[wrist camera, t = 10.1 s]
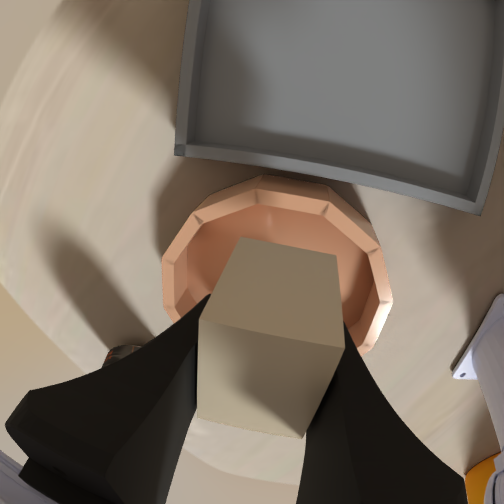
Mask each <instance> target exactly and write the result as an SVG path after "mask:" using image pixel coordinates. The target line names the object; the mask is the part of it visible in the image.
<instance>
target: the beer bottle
mask: <svg viewBox="0 0 504 504" xmlns="http://www.w3.org/2000/svg"><path fill="white" fill-rule="evenodd" d="M501 453H502V452H500V453H498V454H495V455H493V456H491V457H489V458H487V459H485V460H484V461H482V462H480V463H479V464H477V465H476V466H474V467H473V468H472V469H471V470H470V471H469V472H468V473H467V475H466V478H465V486H466V492H467V496H468V503H469V504H484V496H485V491H486V486H487V483H488V480H489V478H490V477H491V475H492V474H493V473H494V472H495V471H496V468H495V464H494V459H495V458H496V457H497V456H498V455H500V454H501Z"/></svg>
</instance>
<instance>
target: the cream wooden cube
mask: <svg viewBox="0 0 504 504" xmlns="http://www.w3.org/2000/svg"><path fill="white" fill-rule="evenodd" d="M344 349H345V340H344V327H343V315H342V304H341V293H340V284H339V274H338V266H337V257H336V255H333V254H328V253H322V252H317V251H312V250H307V249H302V248H297V247H292V246H287V245H282V244H277V243H271V242H266V241H261V240H256V239H251V238H245V237H240V239H239V241H238V242H237V244H236V246H235V248H234V250H233V252H232V254H231V256H230V258H229V260H228V262H227V264H226V266H225V268H224V270H223V272H222V274H221V276H220V278H219V280H218V282H217V284H216V286H215V288H214V290H213V292H212V294H211V296H210V298H209V300H208V302H207V304H206V306H205V308H204V310H203V312H202V314H201V316H200V318H199V334H198V373H197V418H201V419H204V420H208V421H212V422H216V423H220V424H224V425H229V426H233V427H238V428H242V429H247V430H252V431H257V432H262V433H267V434H273V435H279V436H285V437H291V438H298V439H302V438H303V436H304V434H305V432H306V431H307V429H308V427H309V425H310V423H311V421H312V419H313V417H314V415H315V413H316V411H317V409H318V407H319V405H320V402H321V400H322V398H323V396H324V394H325V392H326V390H327V388H328V386H329V383H330V381H331V379H332V377H333V375H334V372H335V370H336V368H337V366H338V363H339V361H340V359H341V356H342V354H343V352H344Z"/></svg>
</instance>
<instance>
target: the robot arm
mask: <svg viewBox="0 0 504 504" xmlns="http://www.w3.org/2000/svg"><path fill="white" fill-rule="evenodd" d="M210 296H211V294H208V295H206V296H205V297H204V298H203V299H202V300H201V301H200V302H199V303H198V304H196V305H195V306H194V307H193V308H192V309H191V310H190V311H189V312H187V313H186V314H185V315H184V316H183V317H181V318H180V319H179V320H178V321H177V322H175V323H174V324H173V325H172V326H170V327H169V328H168V329H166V330H165V331H164V332H162V333H161V334H160V335H158V336H157V337H155V338H154V339H153V340H151V341H150V342H148V343H147V344H145V345H144V346H142V347H140V348H139V349H137V350H136V351H134V352H132V353H130V354H129V355H127V356H125V357H123V358H121V359H119V360H118V361H116V362H114V363H112V364H110V365H107V366H105V367H103V368H101V369H99V370H97V371H94V372H92V373H89V374H86V375H84V376H81V377H78V378H75V379H72V380H69V381H67V382H63V383H59V384H55V385H51V386H47V387H44V388H39V389H35V390H30V391H29V392H28V393H27V394H26V395H25V396H24V398H23V399H22V400H21V402H20V403H19V404H18V406H17V407H16V408H15V410H14V411H13V413H12V414H11V416H10V417H9V418H8V420H7V421H6V423H5V427H6V430H7V432H8V433H9V435H10V436H11V437H12V439H13V440H14V441H15V442H16V443H17V445H18V446H19V447H20V448H21V449H22V450H23V451H24V453H25V454H26V455H27V456H28V457H29V458H28V460H27V462H26V463H25V465H24V466H22V465H20V464H19V463H17V462H16V461H14V460H13V459H12V458H10V457H9V456H7V455H6V454H5V453H3V452H2V451H1V450H0V504H165V503H166V499H167V496H168V492H169V489H170V485H171V482H172V479H173V475H174V472H175V469H176V465H177V462H178V459H179V455H180V452H181V449H182V446H183V443H184V440H185V437H186V434H187V431H188V428H189V425H190V423H191V420H192V418H193V416H194V413H195V411H196V409H197V373H198V334H199V318H200V316H201V314H202V312H203V310H204V308H205V306H206V304H207V302H208V300H209V298H210ZM343 327H344V340H345V349H344V352H343V354H342V356H341V359H340V361H339V363H338V366H337V368H336V370H335V372H334V375H333V377H332V379H331V381H330V383H329V386H328V388H327V390H326V392H325V394H324V396H323V398H322V400H321V402H320V405H319V407H318V409H317V411H316V413H315V415H314V417H313V419H312V421H311V423H310V425H309V427H308V429H307V431H306V447H305V456H304V463H303V469H302V475H301V481H300V486H299V491H298V497H297V501H296V504H468V501H467V493H466V487H465V482H464V478H463V477H461V476H460V475H459V474H457V473H456V472H455V471H454V470H452V469H451V468H450V467H449V466H447V465H446V464H445V463H444V462H442V461H441V460H440V459H439V458H438V457H437V456H436V455H435V454H433V453H432V452H431V451H430V450H429V449H428V448H427V447H426V446H425V445H424V444H423V443H422V442H421V441H420V440H419V439H418V438H417V437H416V436H415V434H414V433H413V432H412V431H411V430H410V429H409V428H408V427H407V425H406V424H405V423H404V422H403V421H402V420H401V418H400V417H399V416H398V415H397V413H396V412H395V411H394V409H393V408H392V406H391V405H390V404H389V402H388V401H387V400H386V398H385V397H384V395H383V394H382V392H381V390H380V389H379V387H378V386H377V384H376V382H375V381H374V379H373V377H372V376H371V374H370V372H369V370H368V368H367V367H366V365H365V363H364V361H363V359H362V357H361V355H360V353H359V351H358V350H357V347H356V345H355V343H354V341H353V339H352V337H351V335H350V333H349V331H348V329H347V326H346V324H345V322H344V321H343ZM452 377H453V378H454V379H478V381H479V384H480V387H481V389H482V392H483V395H484V398H485V401H486V404H487V406H488V409H489V412H490V415H491V419H492V422H493V425H494V428H495V431H496V435H497V438H498V442H499V445H500V449H501V452H502V453H501V454H500V455H498V456H497V457H496V458H495V459H494V464H495V468H496V471H495V472H494V473H493V474H492V475H491V477H490V478H489V480H488V483H487V486H486V491H485V496H484V504H504V294H499V295H498V296H497V297H496V298H495V300H494V302H493V304H492V306H491V308H490V309H489V311H488V313H487V315H486V317H485V319H484V321H483V322H482V324H481V326H480V328H479V329H478V331H477V333H476V335H475V336H474V338H473V340H472V341H471V343H470V345H469V346H468V348H467V350H466V351H465V353H464V354H463V356H462V358H461V359H460V361H459V362H458V364H457V365H456V367H455V368H454V370H453V371H452Z"/></svg>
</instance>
